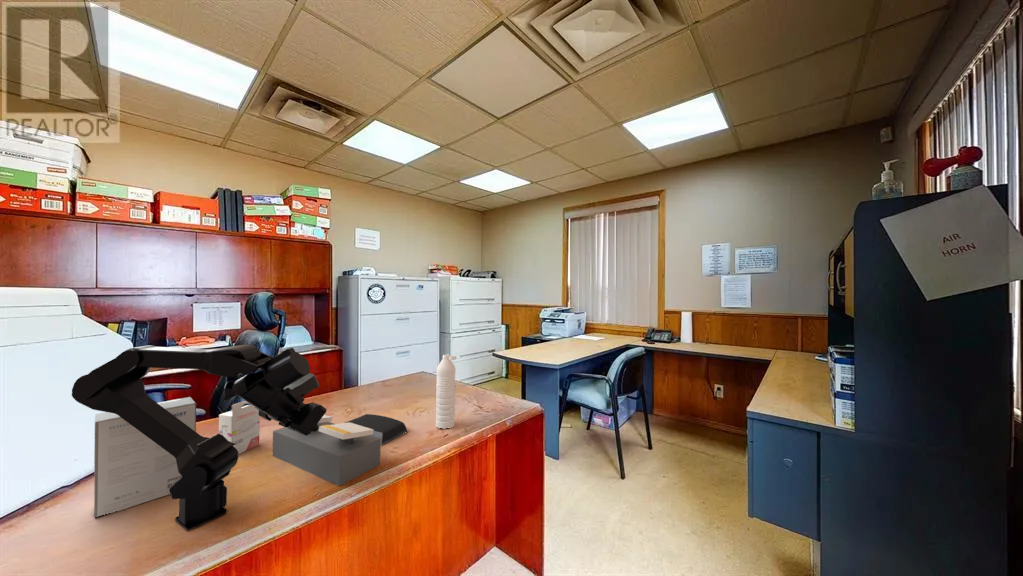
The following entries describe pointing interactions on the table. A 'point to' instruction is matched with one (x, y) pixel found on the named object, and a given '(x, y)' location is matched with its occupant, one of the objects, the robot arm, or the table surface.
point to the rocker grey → (325, 419)
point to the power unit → (327, 453)
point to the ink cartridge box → (241, 426)
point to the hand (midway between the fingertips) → (316, 429)
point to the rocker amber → (345, 430)
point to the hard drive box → (133, 460)
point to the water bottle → (445, 392)
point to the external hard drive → (381, 426)
